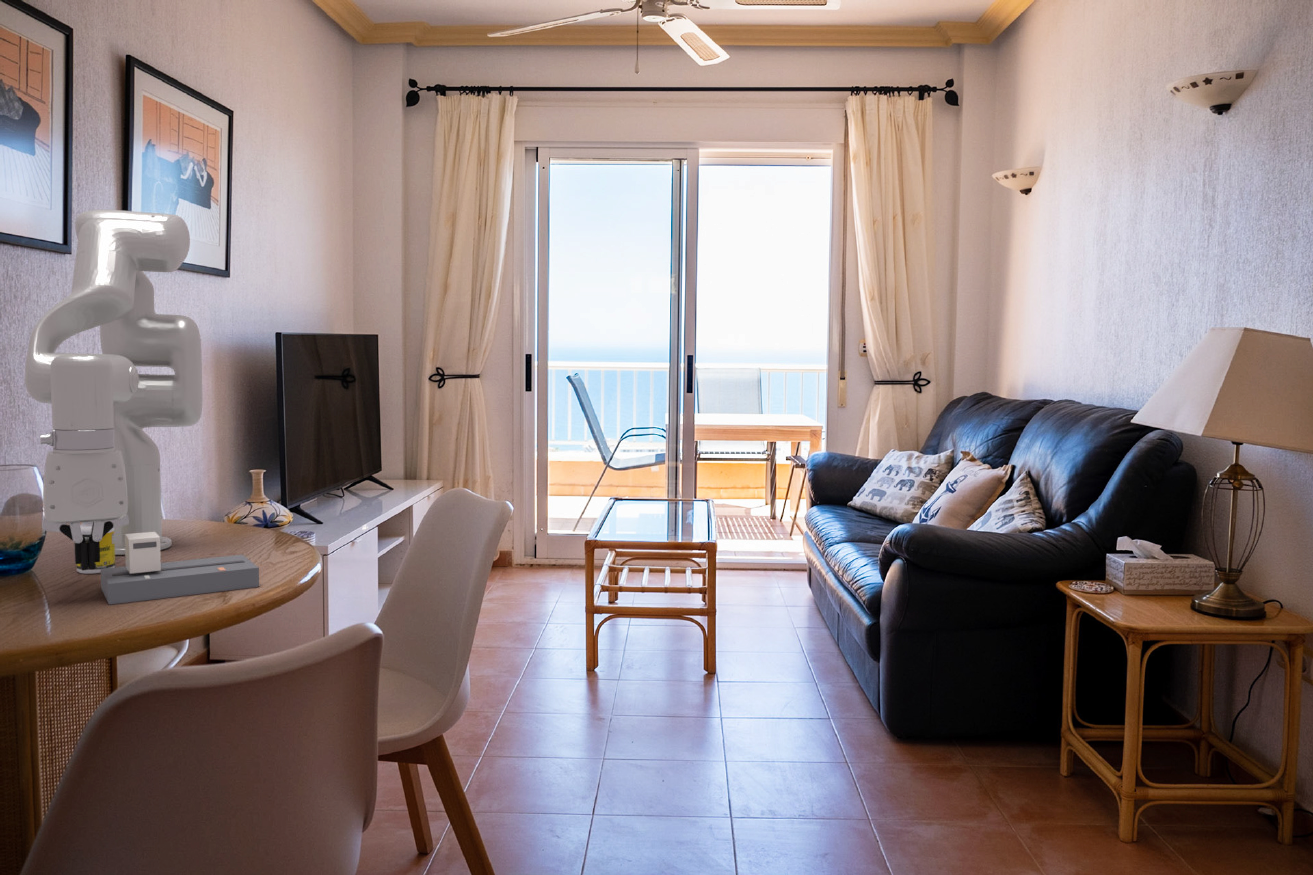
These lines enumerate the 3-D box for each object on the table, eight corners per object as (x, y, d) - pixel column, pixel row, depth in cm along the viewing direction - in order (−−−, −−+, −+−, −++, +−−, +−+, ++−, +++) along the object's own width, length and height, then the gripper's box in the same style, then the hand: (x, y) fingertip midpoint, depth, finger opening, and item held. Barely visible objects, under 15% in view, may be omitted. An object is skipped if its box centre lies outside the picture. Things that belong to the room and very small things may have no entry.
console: (101, 588, 139) (100, 568, 139) (243, 572, 151) (242, 553, 151) (109, 604, 130) (108, 583, 130) (259, 586, 142) (258, 566, 142)
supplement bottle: (75, 575, 147) (73, 514, 146) (78, 568, 152) (76, 509, 151) (114, 572, 149) (112, 512, 148) (116, 565, 154) (114, 507, 153)
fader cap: (125, 567, 138) (124, 534, 138) (155, 564, 141) (155, 531, 140) (130, 573, 134) (129, 539, 134) (160, 570, 137) (160, 537, 136)
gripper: (21, 445, 124) (26, 579, 126) (147, 441, 133) (150, 567, 134) (19, 441, 130) (24, 569, 132) (140, 438, 139) (142, 558, 141)
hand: (87, 567), depth 133 cm, fingers closed
